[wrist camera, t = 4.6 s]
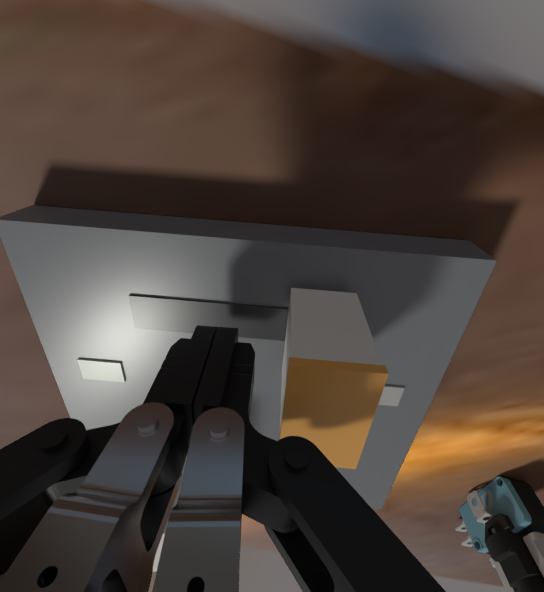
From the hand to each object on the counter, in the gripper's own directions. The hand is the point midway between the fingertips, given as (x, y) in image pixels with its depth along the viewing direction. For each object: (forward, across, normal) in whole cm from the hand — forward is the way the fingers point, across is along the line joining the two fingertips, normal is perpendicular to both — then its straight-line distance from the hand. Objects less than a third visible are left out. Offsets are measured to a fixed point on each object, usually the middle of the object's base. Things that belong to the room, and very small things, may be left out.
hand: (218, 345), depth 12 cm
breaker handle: (+1, -4, 0) cm, 4 cm away
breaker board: (+4, -1, +5) cm, 6 cm away
